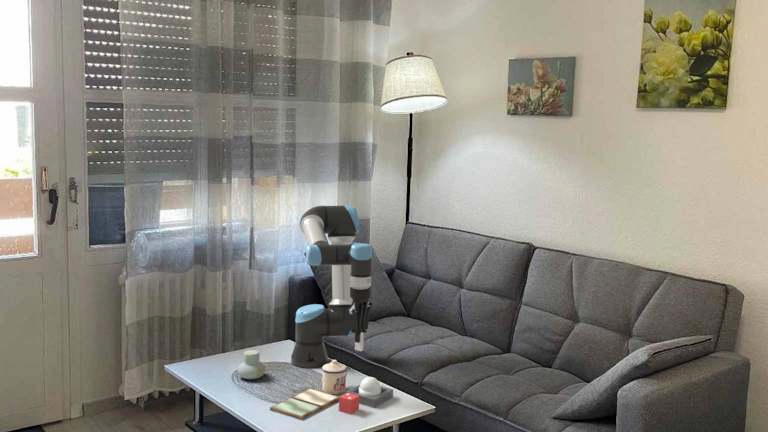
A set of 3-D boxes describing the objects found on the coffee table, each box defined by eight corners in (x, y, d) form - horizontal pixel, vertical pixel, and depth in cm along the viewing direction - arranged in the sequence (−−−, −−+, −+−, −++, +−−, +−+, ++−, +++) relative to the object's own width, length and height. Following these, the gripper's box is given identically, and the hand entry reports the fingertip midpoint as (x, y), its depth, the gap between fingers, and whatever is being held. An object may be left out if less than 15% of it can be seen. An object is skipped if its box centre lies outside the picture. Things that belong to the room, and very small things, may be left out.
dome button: (366, 390, 273) (367, 372, 272) (385, 395, 269) (385, 376, 268) (354, 397, 266) (354, 378, 265) (372, 402, 262) (373, 383, 261)
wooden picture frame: (309, 390, 274) (309, 388, 273) (340, 399, 266) (340, 396, 266) (269, 410, 255) (269, 406, 255) (301, 419, 248) (301, 416, 248)
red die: (347, 406, 260) (347, 392, 259) (358, 409, 258) (359, 395, 257) (338, 410, 256) (339, 396, 255) (350, 414, 253) (350, 399, 253)
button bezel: (365, 389, 276) (365, 382, 276) (392, 397, 269) (393, 389, 269) (346, 400, 266) (346, 392, 265) (374, 408, 259) (374, 399, 259)
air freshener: (253, 383, 280) (253, 357, 278) (234, 380, 283) (234, 354, 281) (268, 374, 290) (268, 349, 289) (249, 371, 293) (249, 346, 291)
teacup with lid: (336, 397, 268) (336, 366, 267) (316, 391, 273) (317, 361, 272) (355, 387, 278) (356, 357, 276) (336, 382, 283) (336, 352, 281)
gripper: (359, 292, 257) (357, 357, 261) (379, 284, 268) (377, 347, 272) (341, 288, 261) (340, 352, 265) (361, 281, 272) (360, 343, 276)
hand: (359, 350), depth 269 cm, fingers closed
